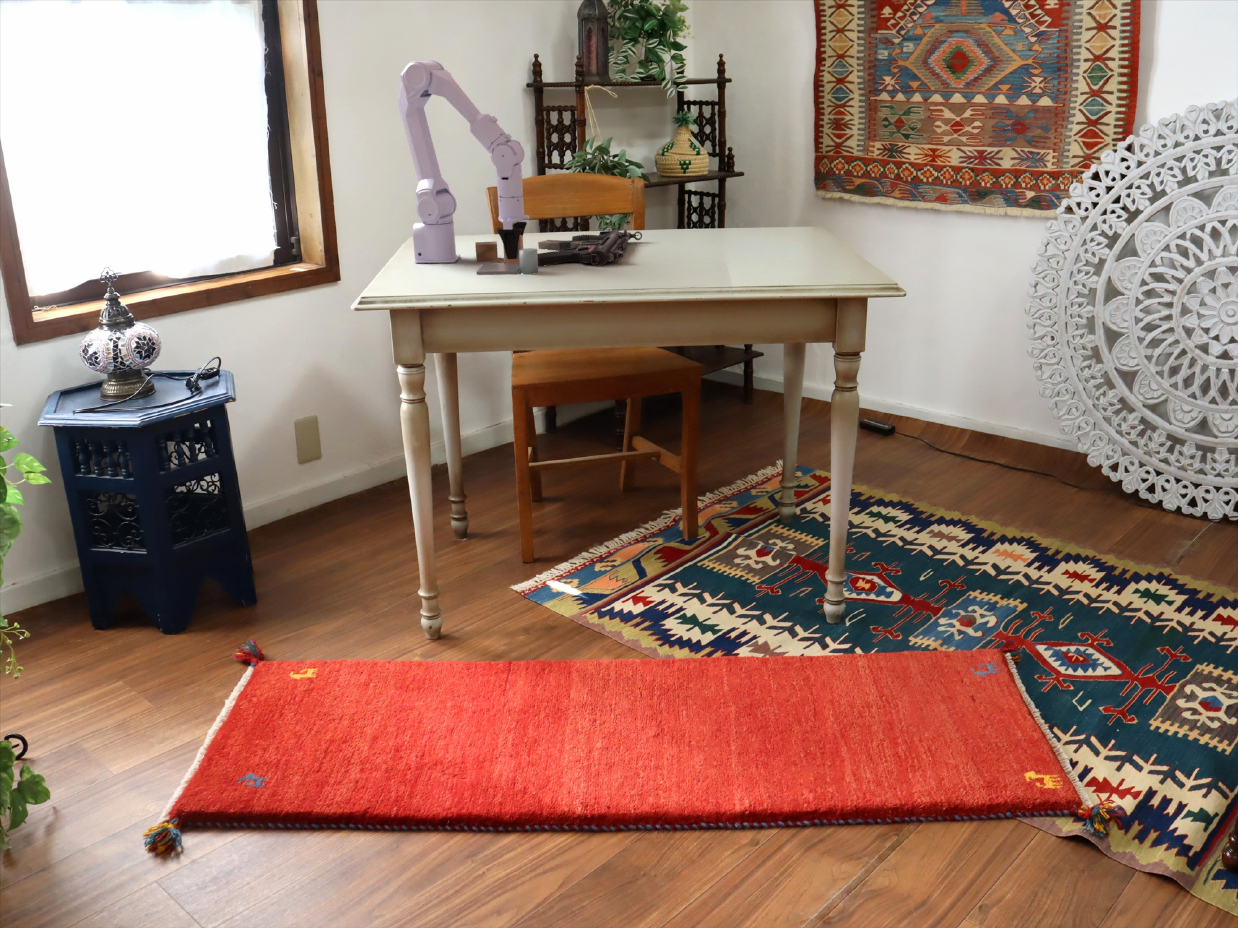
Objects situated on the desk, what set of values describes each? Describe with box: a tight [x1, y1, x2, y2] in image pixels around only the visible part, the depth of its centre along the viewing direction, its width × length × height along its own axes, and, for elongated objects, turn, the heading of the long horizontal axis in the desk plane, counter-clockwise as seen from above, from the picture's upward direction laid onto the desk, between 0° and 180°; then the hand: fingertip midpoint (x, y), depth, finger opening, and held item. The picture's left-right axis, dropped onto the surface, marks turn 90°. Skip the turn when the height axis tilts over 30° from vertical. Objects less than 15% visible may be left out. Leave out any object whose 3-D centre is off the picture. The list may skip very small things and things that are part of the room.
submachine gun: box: [537, 228, 643, 267], centre depth 254 cm, size 33×4×25 cm
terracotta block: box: [503, 234, 524, 264], centre depth 245 cm, size 4×4×6 cm
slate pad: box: [476, 263, 520, 275], centre depth 237 cm, size 9×9×1 cm
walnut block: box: [474, 240, 499, 263], centre depth 249 cm, size 5×4×4 cm
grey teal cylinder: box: [519, 247, 539, 275], centre depth 234 cm, size 4×4×5 cm
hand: (513, 256), depth 245 cm, fingers open, 6 cm apart
